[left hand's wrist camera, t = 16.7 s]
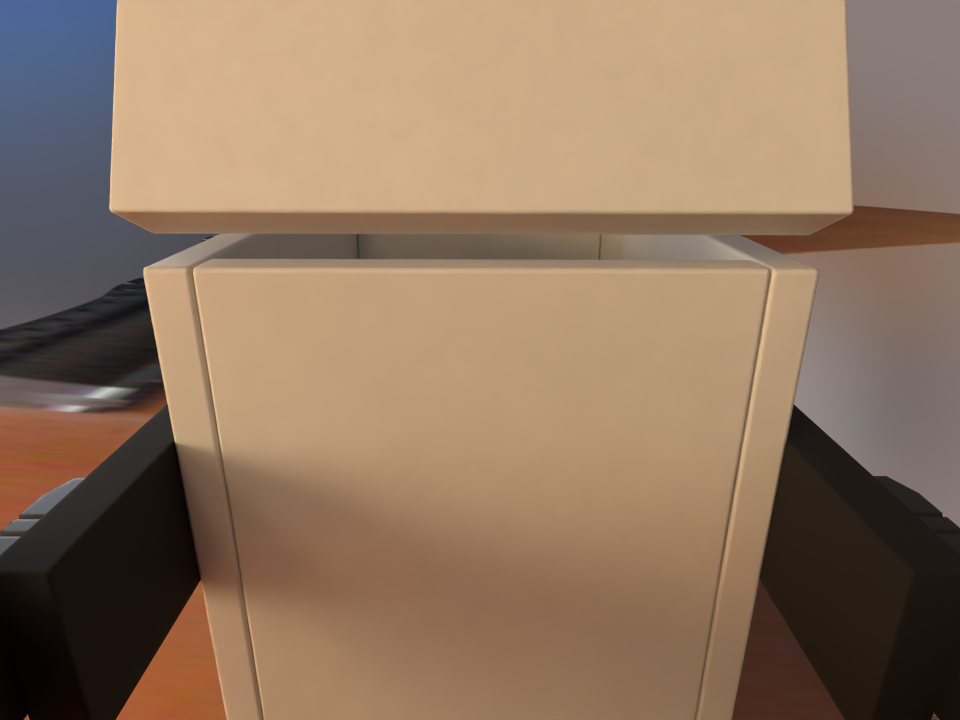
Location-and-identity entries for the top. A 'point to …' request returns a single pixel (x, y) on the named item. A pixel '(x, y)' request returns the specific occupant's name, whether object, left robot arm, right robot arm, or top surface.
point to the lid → (482, 116)
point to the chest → (480, 466)
